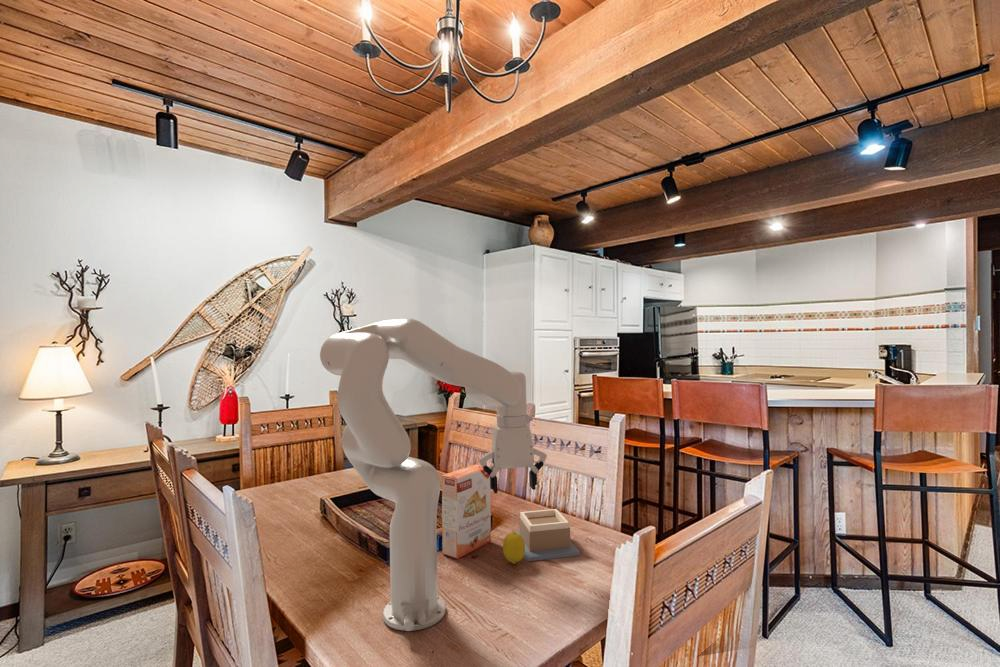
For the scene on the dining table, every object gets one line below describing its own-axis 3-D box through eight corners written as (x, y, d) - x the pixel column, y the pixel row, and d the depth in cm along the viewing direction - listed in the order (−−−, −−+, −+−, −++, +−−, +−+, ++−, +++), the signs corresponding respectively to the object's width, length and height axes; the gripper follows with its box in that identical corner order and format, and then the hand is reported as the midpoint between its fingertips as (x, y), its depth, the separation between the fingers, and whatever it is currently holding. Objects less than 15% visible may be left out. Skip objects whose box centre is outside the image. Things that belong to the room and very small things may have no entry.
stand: (580, 555, 127) (579, 526, 127) (527, 561, 124) (526, 531, 124) (559, 530, 144) (558, 504, 144) (512, 535, 141) (511, 508, 141)
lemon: (523, 569, 120) (522, 536, 120) (501, 568, 121) (500, 535, 121) (526, 559, 125) (526, 528, 125) (505, 558, 126) (504, 526, 126)
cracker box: (458, 560, 125) (457, 478, 126) (441, 554, 129) (440, 474, 129) (492, 541, 137) (491, 466, 137) (476, 536, 140) (474, 463, 140)
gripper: (541, 416, 129) (542, 482, 129) (475, 421, 125) (477, 488, 125) (549, 421, 122) (551, 491, 122) (480, 426, 118) (482, 498, 118)
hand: (513, 489), depth 123 cm, fingers open, 9 cm apart
